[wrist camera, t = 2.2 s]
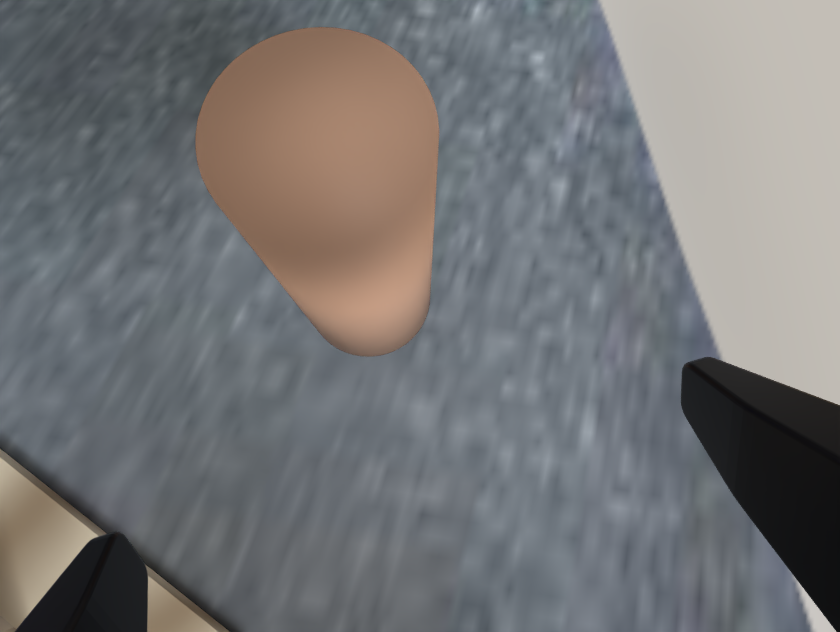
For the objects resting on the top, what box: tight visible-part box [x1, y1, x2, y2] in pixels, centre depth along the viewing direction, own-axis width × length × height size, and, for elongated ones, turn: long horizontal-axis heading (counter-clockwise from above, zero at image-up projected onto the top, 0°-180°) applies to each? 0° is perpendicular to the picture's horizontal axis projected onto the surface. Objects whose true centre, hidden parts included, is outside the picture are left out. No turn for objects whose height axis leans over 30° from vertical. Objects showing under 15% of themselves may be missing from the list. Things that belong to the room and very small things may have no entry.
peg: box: [196, 27, 439, 357], centre depth 18 cm, size 5×5×12 cm
